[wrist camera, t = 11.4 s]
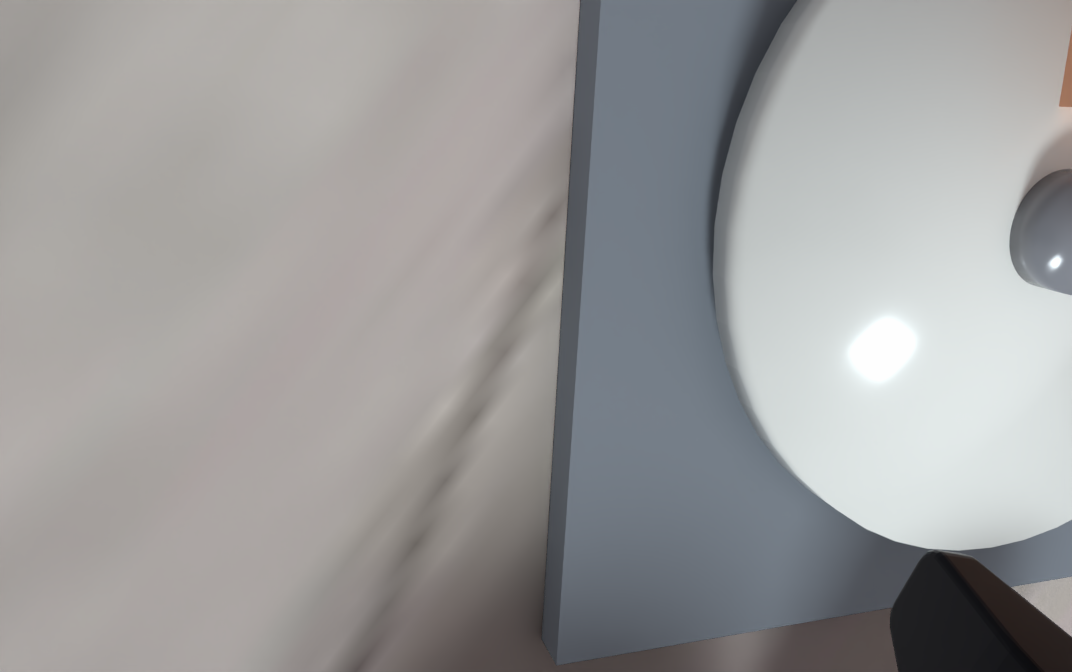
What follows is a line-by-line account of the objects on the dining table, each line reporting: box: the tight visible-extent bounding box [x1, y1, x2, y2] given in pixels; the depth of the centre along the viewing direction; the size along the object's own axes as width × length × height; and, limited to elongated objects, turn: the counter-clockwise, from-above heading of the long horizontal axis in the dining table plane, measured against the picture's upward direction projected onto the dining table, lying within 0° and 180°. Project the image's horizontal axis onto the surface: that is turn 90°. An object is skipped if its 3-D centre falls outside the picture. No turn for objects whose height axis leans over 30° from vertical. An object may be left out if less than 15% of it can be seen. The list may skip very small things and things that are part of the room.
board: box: [542, 0, 1072, 666], centre depth 24 cm, size 24×24×1 cm
